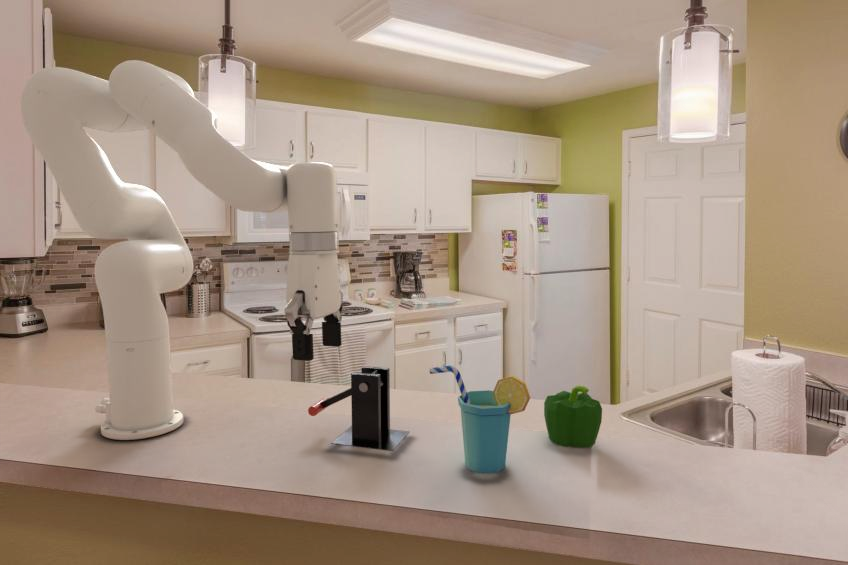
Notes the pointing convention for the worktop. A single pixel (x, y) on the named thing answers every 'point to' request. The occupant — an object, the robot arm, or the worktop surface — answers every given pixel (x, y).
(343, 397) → the lever
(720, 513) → the worktop surface
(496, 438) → the cup
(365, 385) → the bracket
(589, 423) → the bell pepper
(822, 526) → the worktop surface
